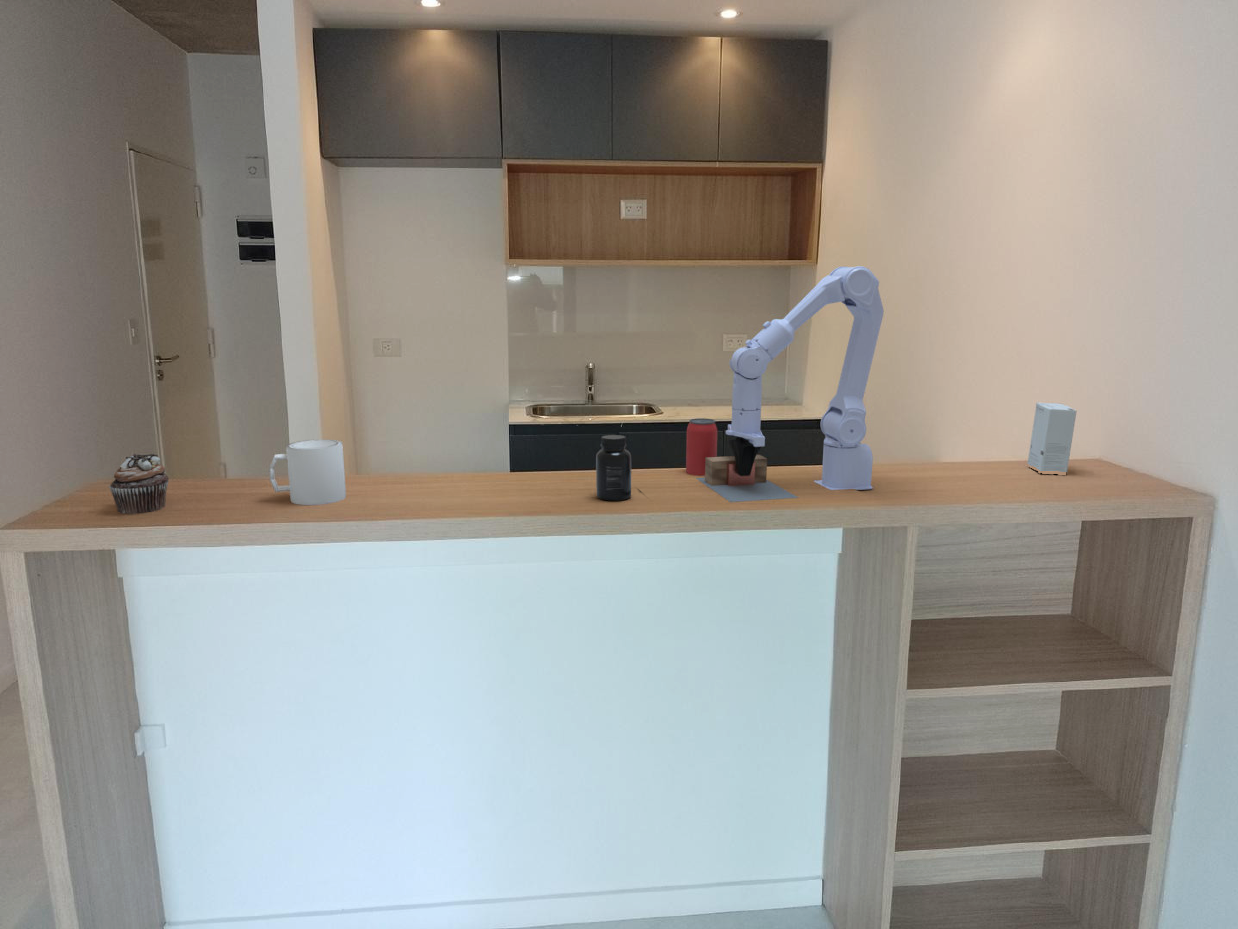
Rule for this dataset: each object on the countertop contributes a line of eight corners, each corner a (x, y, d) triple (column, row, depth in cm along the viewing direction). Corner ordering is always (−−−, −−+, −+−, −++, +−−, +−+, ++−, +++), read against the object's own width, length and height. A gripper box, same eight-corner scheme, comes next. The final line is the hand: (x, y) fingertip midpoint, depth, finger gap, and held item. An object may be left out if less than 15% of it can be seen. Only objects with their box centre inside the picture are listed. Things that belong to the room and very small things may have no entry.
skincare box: (1026, 467, 196) (1033, 402, 193) (1054, 467, 196) (1061, 402, 193) (1040, 475, 188) (1048, 407, 185) (1069, 476, 188) (1077, 408, 185)
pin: (754, 484, 177) (755, 463, 176) (728, 486, 176) (729, 464, 175) (740, 476, 184) (741, 455, 183) (716, 478, 182) (716, 457, 181)
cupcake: (121, 503, 164) (115, 451, 162) (177, 500, 166) (171, 449, 164) (104, 516, 155) (97, 462, 153) (163, 513, 157) (157, 459, 155)
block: (758, 477, 183) (759, 454, 182) (766, 482, 179) (767, 458, 178) (704, 481, 180) (705, 457, 179) (711, 485, 176) (712, 461, 175)
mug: (270, 508, 161) (265, 452, 158) (273, 495, 170) (269, 442, 168) (346, 502, 165) (342, 448, 162) (345, 490, 174) (342, 438, 172)
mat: (757, 477, 186) (757, 474, 186) (798, 500, 167) (798, 497, 167) (695, 480, 183) (695, 478, 182) (730, 505, 164) (730, 501, 164)
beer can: (714, 479, 184) (716, 423, 182) (683, 477, 186) (685, 422, 183) (717, 472, 191) (719, 418, 188) (687, 470, 192) (688, 417, 189)
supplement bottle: (637, 495, 170) (638, 435, 168) (619, 503, 165) (620, 441, 162) (607, 491, 174) (607, 432, 171) (589, 498, 168) (589, 438, 166)
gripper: (714, 403, 178) (712, 468, 181) (741, 414, 164) (739, 484, 167) (746, 402, 179) (744, 466, 182) (776, 413, 166) (773, 482, 168)
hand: (744, 475), depth 175 cm, fingers closed
